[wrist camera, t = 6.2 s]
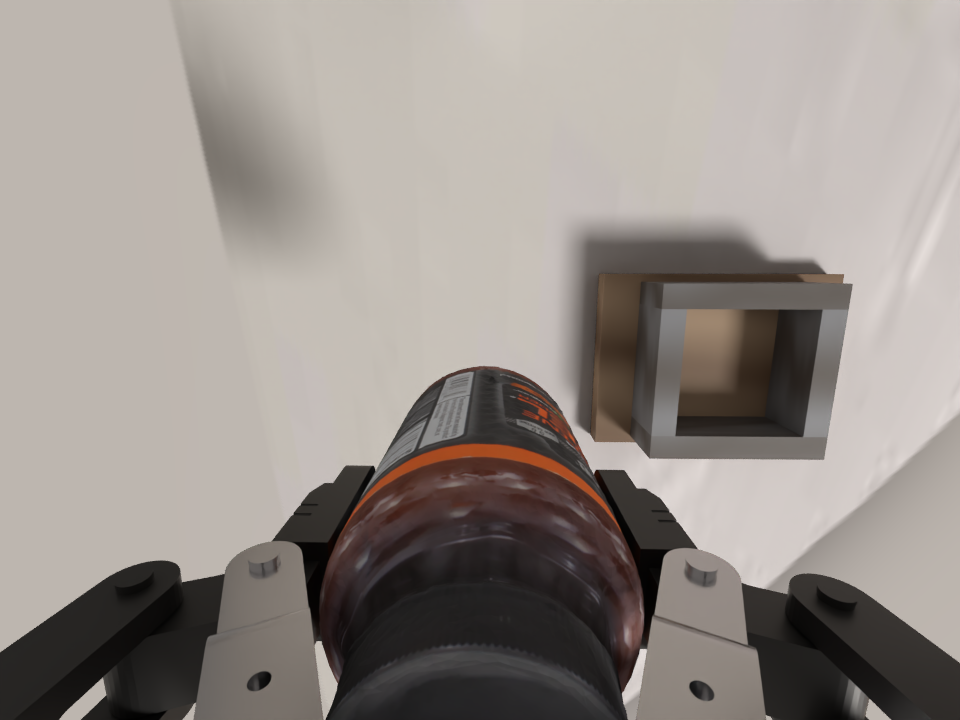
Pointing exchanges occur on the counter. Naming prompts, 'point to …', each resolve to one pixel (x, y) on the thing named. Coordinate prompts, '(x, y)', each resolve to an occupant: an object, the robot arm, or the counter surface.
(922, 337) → the counter surface
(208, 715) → the robot arm
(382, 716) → the supplement bottle
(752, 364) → the socket stand
